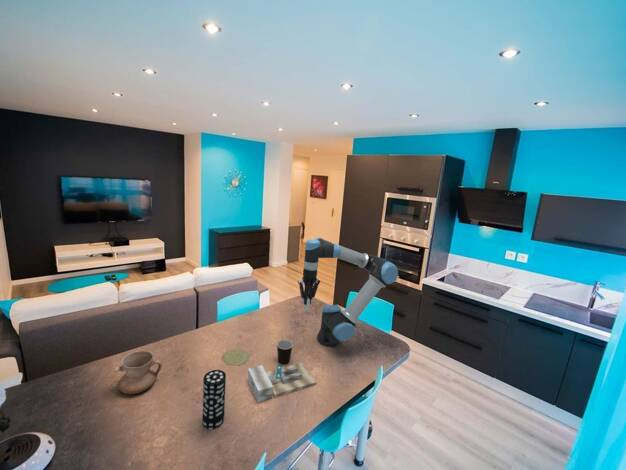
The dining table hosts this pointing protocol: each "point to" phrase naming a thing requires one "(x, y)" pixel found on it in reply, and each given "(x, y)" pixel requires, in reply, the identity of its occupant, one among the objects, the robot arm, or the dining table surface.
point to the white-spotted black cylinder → (213, 399)
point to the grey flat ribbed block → (292, 381)
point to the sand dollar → (235, 357)
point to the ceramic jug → (137, 372)
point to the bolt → (277, 375)
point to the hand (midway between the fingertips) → (306, 309)
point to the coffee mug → (284, 351)
